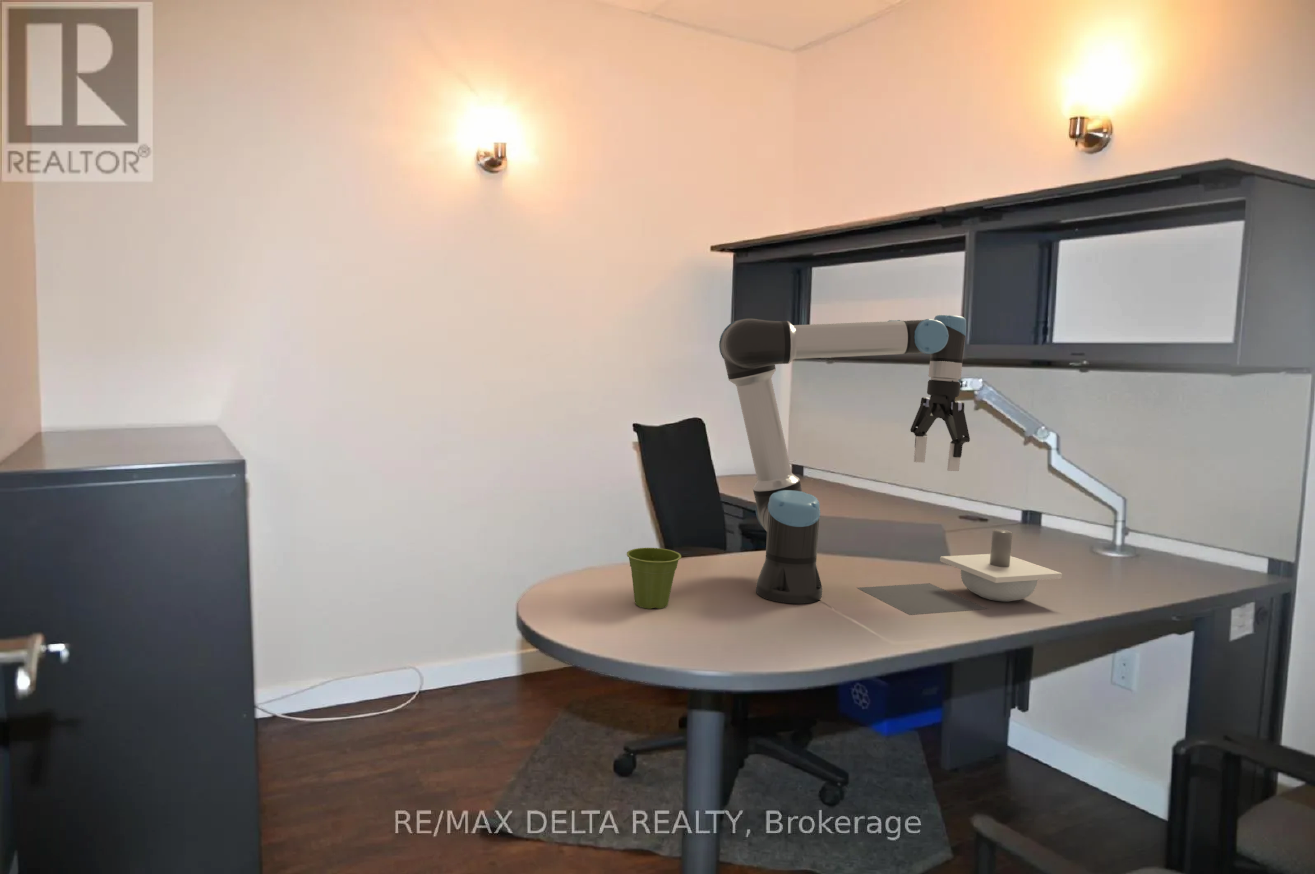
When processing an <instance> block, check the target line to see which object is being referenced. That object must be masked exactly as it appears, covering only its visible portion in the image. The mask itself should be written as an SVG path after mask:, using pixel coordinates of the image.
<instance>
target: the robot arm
mask: <svg viewBox="0 0 1315 874" xmlns="http://www.w3.org/2000/svg"><path fill="white" fill-rule="evenodd" d="M966 337H967V319H966V318H965V317H963V316H961V315H950V314H949V315H947V314H946V315H944V314H943V315H942V314H939V315H938V314H937V315H935V317H934V318H927V319H917V320H915V319H912V320H910V319H909V320H900V319H897V320H892V319H891V320H890V319H889V320H886V321H869V322H868V321H867V322H866V321H865V322H862V321H861V322H843V323H842V322H840V323H839V322H838V323H821V324H820V323H816V324H814V323H813V324H794V325H793V324H792V323H791V322H790V321H789V320H782V321H781V320H780V321H779V320H776V321H775V320H765V319H757V318H743V319H738V320H735V321H733V322H731V323H730V324H728V325H727V326H726V327H725V328H724V329H723V331H722V333H721V334H720V338H719V344H718V348H719V352H720V355H721V357H722V359H723V361H724V365H725V370H726V374H727V379H728V381H729V382H730V383H732V384H733V385H735V386H736V389H737V390H736V391H737V394H738V398H739V404H740V409H741V412H742V416H743V421H744V426H745V431H746V434H747V435H746V436H747V440H748V444H749V448H750V453H751V457H752V463H753V467H754V471H755V476H756V482H755V483H754V486H752V491H753V495H754V500H755V505H756V506H755V514H756V515H755V516H756V518H757V521H758V523H759V524H760V527H762V528H763V529H764V530H765V531H766V541H765V542H766V543H765V544H766V545H765V546H766V547H765V560H764V563H763V566H762V567H761V569H760V573H759V575H758V578H757V580H756V583H755V584H756V587H755V592H756V594H757V595H758V596H759V597H761V598H763V599H765V600H769V601H772V602H776V603H777V602H778V603H782V604H783V603H784V604H793V605H794V604H795V605H796V604H798V605H799V604H800V605H801V604H802V605H803V604H813V603H816V602H818V601H820V599H821V598H822V597H823V596H822V595H823V586H822V582H821V579H820V578H821V576H820V574H819V571H818V566H817V560H818V559H817V556H818V541H819V527H820V517H821V509H820V508H821V507H820V506H821V504H820V501H819V500H818V498H817V497H816V496H815V495H813V494H811V493H807V492H804V491H803V488H802V485H801V479H800V477H798V476H796V475H795V474H794V473H793V472H792V468H791V463H790V459H789V454H788V449H787V444H786V439H785V436H784V435H785V434H784V432H783V426H782V422H781V417H780V413H779V408H778V404H777V398H776V394H775V389H774V384H773V379H772V378H773V375H774V374H775V372H776V368H777V367H776V365H785V364H786V365H788V364H791V362H793V360H797V359H800V360H801V359H819V358H824V359H825V358H842V357H864V356H865V357H866V356H884V355H885V356H887V355H912V354H914V355H917V354H919V355H920V354H926V355H930V357H929V367H928V374H927V375H928V377H929V378H930V379H928V381H927V388H926V390H927V391H926V394H927V395H928V396H929V395H930V397H925V396H923V397H921V399H920V406H919V407H918V409H917V412H916V415H915V418H914V419H913V422H912V424H911V426H910V431H909V432H910V433H913V434H914V436H915V439H914V455H913V463H926V452H927V451H926V450H927V443H928V442H927V441H928V437H927V436H928V434H927V433H928V432H929V430H930V428H931V427H932V425H933V424H934V423H935V421H936V420H937V419H941V420H943V422H944V423H945V426H946V428H947V430H948V434H949V436H950V438H951V441H950V443H949V450H948V451H949V452H948V459H947V460H948V461H947V471H948V472H959V470H960V464H961V457H962V456H963V455H962V453H963V445H964V444H965V443H970V441H971V438H970V433H969V428H968V423H967V420H966V419H967V418H966V414H965V402H964V401H956V398H958V397H959V396H960V390H961V382H960V381H959V380H961V379H962V369H963V360H964V353H965V343H966Z"/></svg>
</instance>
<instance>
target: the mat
mask: <svg viewBox="0 0 1315 874" xmlns="http://www.w3.org/2000/svg"><path fill="white" fill-rule="evenodd" d="M857 589H858V590H860V591H862V592H864V593H866V594H868V596H869V595H870V596H871V597H873V598H876V599H877V600H879V601H881V602H883V603H886V604H887V605H889V606H891V607H893V608H895V609H896V610H899V611H901V612H903V613H905V614H907V615H909V616H915V615H917V616H918V615H928V614H930V615H931V614H943V613H953V612H954V613H955V612H956V613H957V612H968V611H969V612H970V611H981V610H988V608H987V607H985V606H982V605H981V604H978V603H975V602H973V601H971V600H969V599H966V598H964V597H962V596H961V595H958V594H955V593H952V592H951V591H948V590H946V589H944V588H942V587H939V586H937V585H935V584H932V583H930V582H928V583H926V582H925V583H914V584H913V583H911V584H910V583H909V584H893V585H878V586H877V585H876V586H864V587H857Z"/></svg>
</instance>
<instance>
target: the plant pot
mask: <svg viewBox="0 0 1315 874" xmlns="http://www.w3.org/2000/svg"><path fill="white" fill-rule="evenodd" d="M626 556H627V557H628V560H629V567H630V570H631V577H632V578H631V580H632V589H633V598H634V603H635V605H636V606H638V607H639V608H642V609H643V608H644V609H645V610H646V609H648V610H651V609H654V608H655V609H663V608H666V607H668V604H669V601H670V595H671V591H672V587H673V583H674V582H673V581H674V578H675V574H676V570H677V568H678V564H679V563H678V562H679V560H681V558H682V554H681V553H679V552H677V551H675V550H671V549H666V548H660V547H659V548H658V547H638V548H633V549H630V550H627V552H626Z"/></svg>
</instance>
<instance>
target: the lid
mask: <svg viewBox="0 0 1315 874" xmlns="http://www.w3.org/2000/svg"><path fill="white" fill-rule="evenodd" d="M1012 544H1013V532H1012V531H1010V530H1008V529H999V528H998V529H992V533H991V543H990V553H982V554H981V553H980V554H961V555H959V554H958V555H943V556H942V555H941V556H940V558H939V562H941V563H943V564H946V565H949V566H952V567H954V568H957V569H959V570H960V571H961V570H964V571H966V572H969V573H971V574H974V575H977V576H979V577H982V578H984V579H987V580H989V581H992V582H995V583H1000V582H1015V581H1030V580H1037V581H1042V580H1043V581H1044V580H1056V579H1059V580H1060V579H1062V578H1063V573H1062V572H1060V571H1056V570H1055V569H1054V570H1053V569H1051V568H1048V567H1044V566H1042V565H1038V564H1035V563H1033V562H1030V561H1027V560H1024V559H1021V558H1018V557H1016V556H1015V557H1014V556H1012V554H1011V553H1012Z"/></svg>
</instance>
